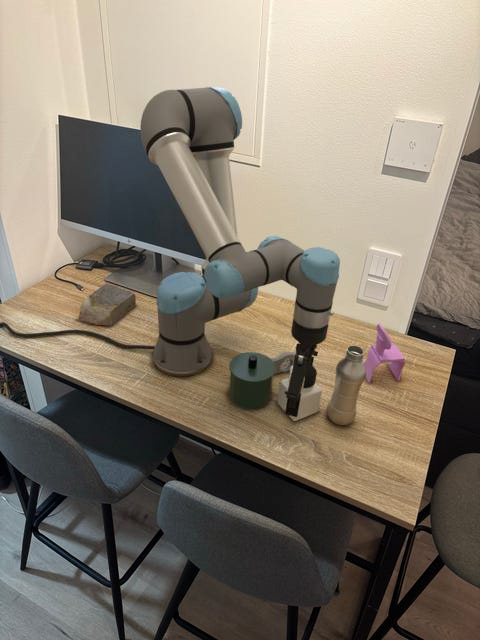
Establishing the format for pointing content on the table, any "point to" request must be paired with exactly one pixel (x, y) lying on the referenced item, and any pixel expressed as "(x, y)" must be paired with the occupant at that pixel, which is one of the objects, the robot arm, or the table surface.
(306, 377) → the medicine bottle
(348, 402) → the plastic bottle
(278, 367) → the lattice window wall
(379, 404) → the table surface
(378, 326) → the toy chair
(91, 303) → the geological specimen
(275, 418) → the table surface
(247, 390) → the pot
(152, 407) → the table surface
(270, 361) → the pot lid
